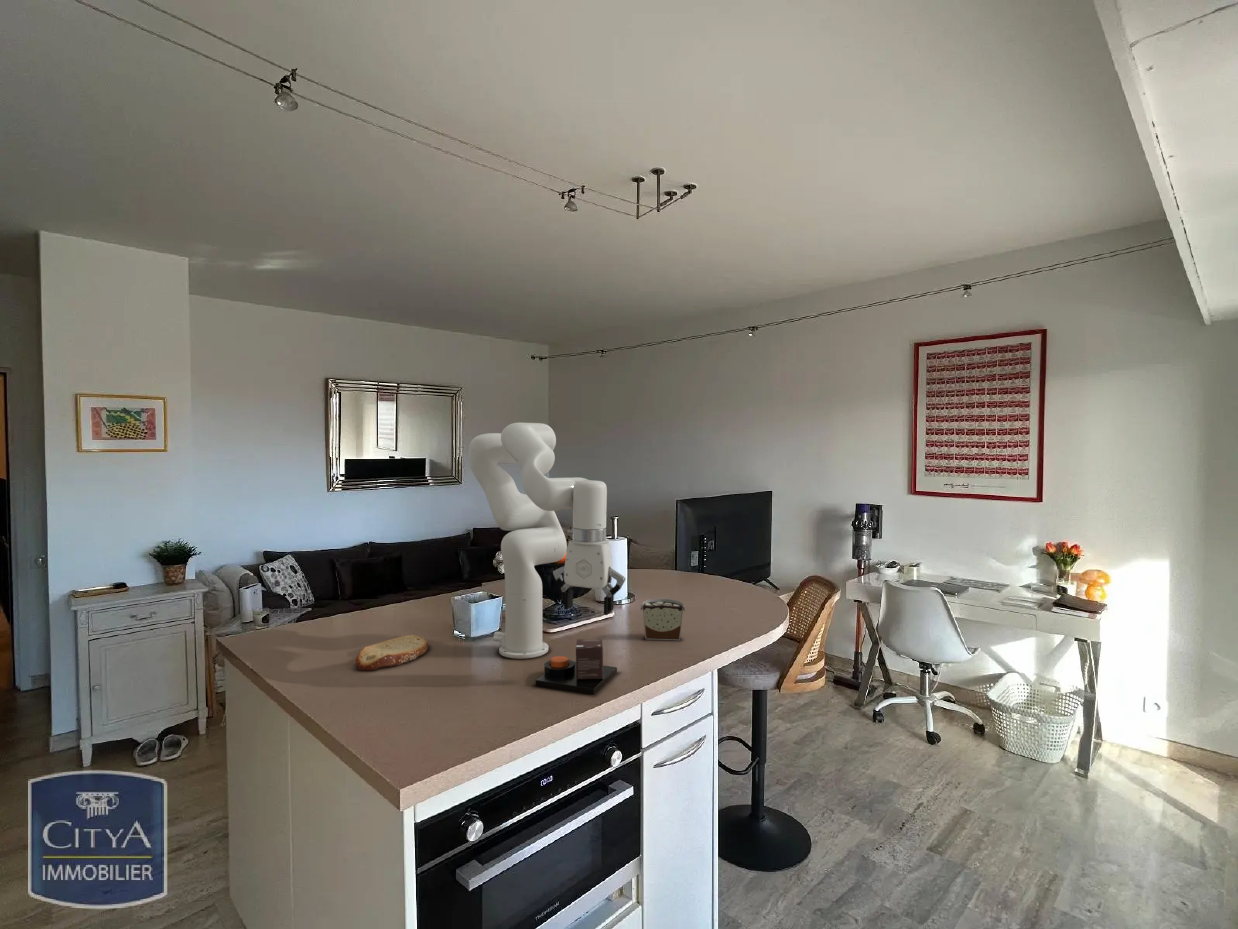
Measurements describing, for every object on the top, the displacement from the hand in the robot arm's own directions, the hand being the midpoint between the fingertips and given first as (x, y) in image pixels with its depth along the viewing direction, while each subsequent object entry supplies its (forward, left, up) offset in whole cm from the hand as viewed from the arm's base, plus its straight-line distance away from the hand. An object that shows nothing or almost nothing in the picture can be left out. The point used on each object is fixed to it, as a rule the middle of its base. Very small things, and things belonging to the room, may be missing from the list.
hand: (587, 610), depth 141 cm
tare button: (-7, 0, -13) cm, 15 cm away
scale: (-2, 0, -16) cm, 16 cm away
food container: (+7, +38, -16) cm, 42 cm away
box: (+1, 0, -15) cm, 15 cm away
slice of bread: (-52, -2, -16) cm, 55 cm away
